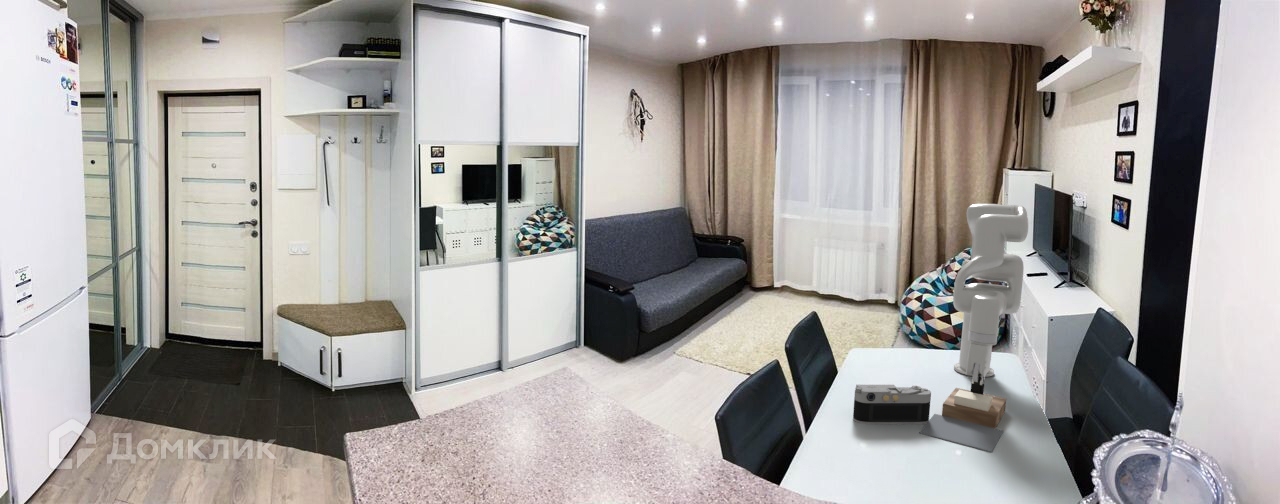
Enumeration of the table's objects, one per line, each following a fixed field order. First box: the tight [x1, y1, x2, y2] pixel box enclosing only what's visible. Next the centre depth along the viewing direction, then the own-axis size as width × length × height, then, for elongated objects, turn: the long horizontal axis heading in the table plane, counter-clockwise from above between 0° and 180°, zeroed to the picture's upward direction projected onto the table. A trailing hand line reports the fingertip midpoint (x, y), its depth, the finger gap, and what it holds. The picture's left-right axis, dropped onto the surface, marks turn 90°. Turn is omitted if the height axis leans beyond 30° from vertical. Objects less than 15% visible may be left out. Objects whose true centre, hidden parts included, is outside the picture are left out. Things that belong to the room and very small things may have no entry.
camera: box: [852, 384, 932, 425], centre depth 190 cm, size 22×10×10 cm, turn 91°
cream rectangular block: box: [954, 390, 993, 411], centre depth 191 cm, size 6×9×2 cm, turn 52°
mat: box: [918, 413, 1004, 453], centre depth 182 cm, size 16×18×1 cm
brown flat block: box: [941, 387, 1007, 429], centre depth 194 cm, size 16×14×4 cm
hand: (976, 396), depth 195 cm, fingers closed
